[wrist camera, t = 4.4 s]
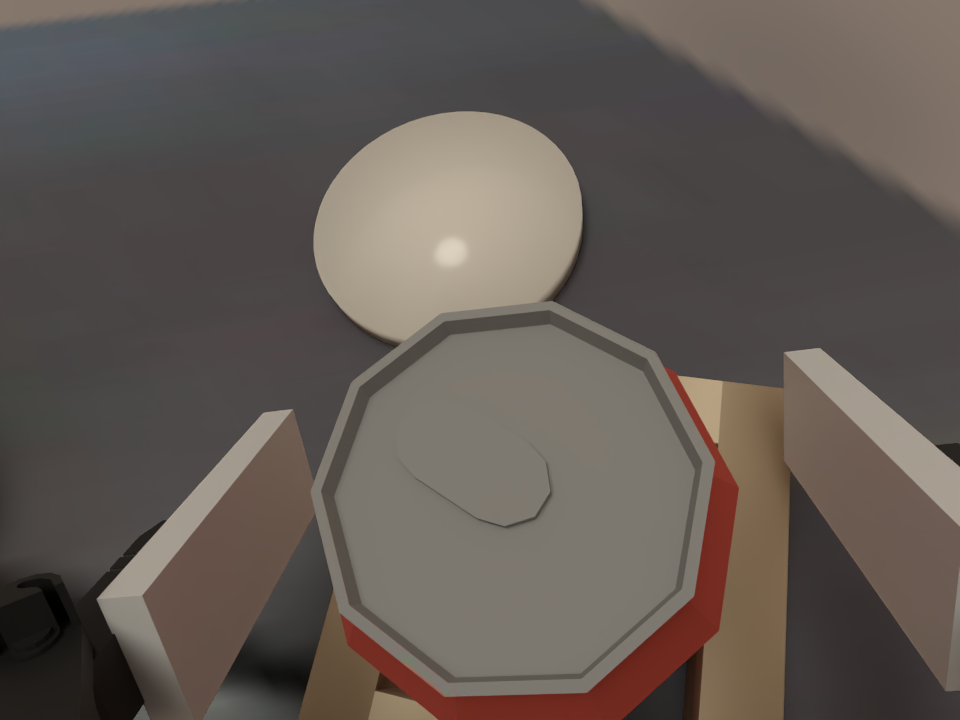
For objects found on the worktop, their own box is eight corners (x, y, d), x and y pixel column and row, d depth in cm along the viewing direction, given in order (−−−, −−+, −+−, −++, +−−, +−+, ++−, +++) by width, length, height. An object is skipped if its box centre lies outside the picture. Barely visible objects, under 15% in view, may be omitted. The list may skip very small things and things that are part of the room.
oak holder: (334, 738, 18) (288, 753, 16) (424, 379, 23) (400, 342, 20) (748, 853, 16) (778, 895, 13) (767, 425, 20) (792, 389, 17)
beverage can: (523, 436, 21) (440, 210, 10) (709, 546, 19) (853, 404, 8) (414, 603, 20) (183, 544, 9) (602, 745, 17) (603, 899, 7)
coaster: (290, 335, 24) (278, 323, 23) (363, 125, 28) (354, 107, 27) (559, 369, 22) (557, 356, 21) (600, 134, 26) (600, 115, 25)
